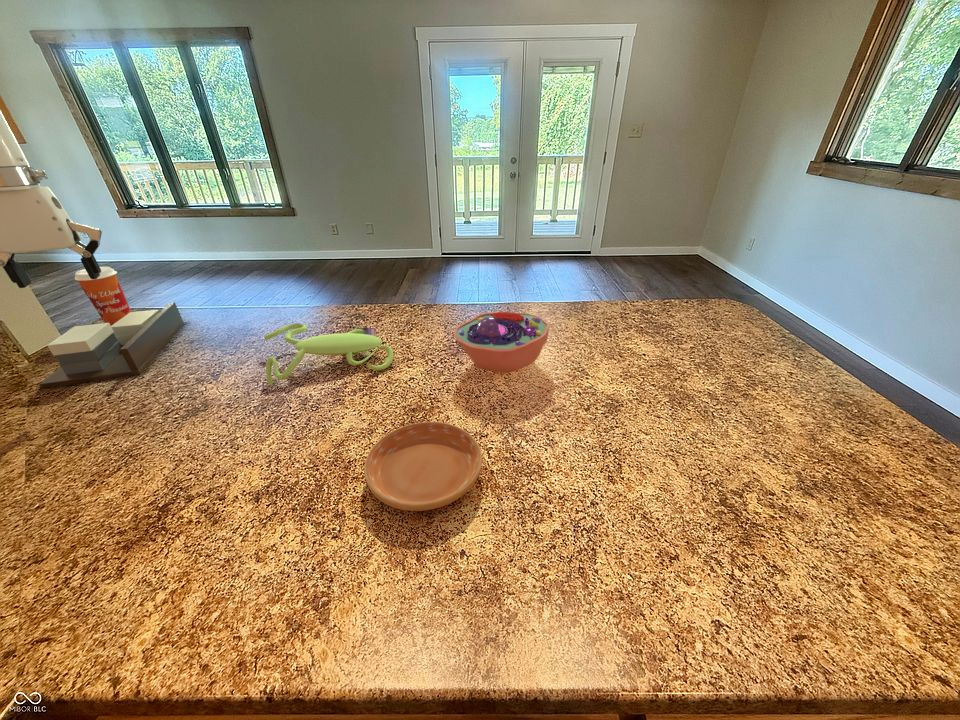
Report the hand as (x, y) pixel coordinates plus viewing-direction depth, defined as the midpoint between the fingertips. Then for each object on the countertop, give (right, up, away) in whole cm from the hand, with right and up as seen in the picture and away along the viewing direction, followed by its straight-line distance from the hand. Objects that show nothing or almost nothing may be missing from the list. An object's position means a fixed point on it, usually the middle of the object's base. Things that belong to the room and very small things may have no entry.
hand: (61, 281), depth 70 cm
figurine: (+44, -14, +12) cm, 48 cm away
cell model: (+82, -15, +10) cm, 84 cm away
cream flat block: (-3, -11, +7) cm, 13 cm away
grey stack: (-3, -16, +10) cm, 19 cm away
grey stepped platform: (-3, -13, +15) cm, 20 cm away
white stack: (-3, -9, +21) cm, 23 cm away
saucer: (+70, -31, -17) cm, 78 cm away
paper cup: (-16, -5, +29) cm, 34 cm away
